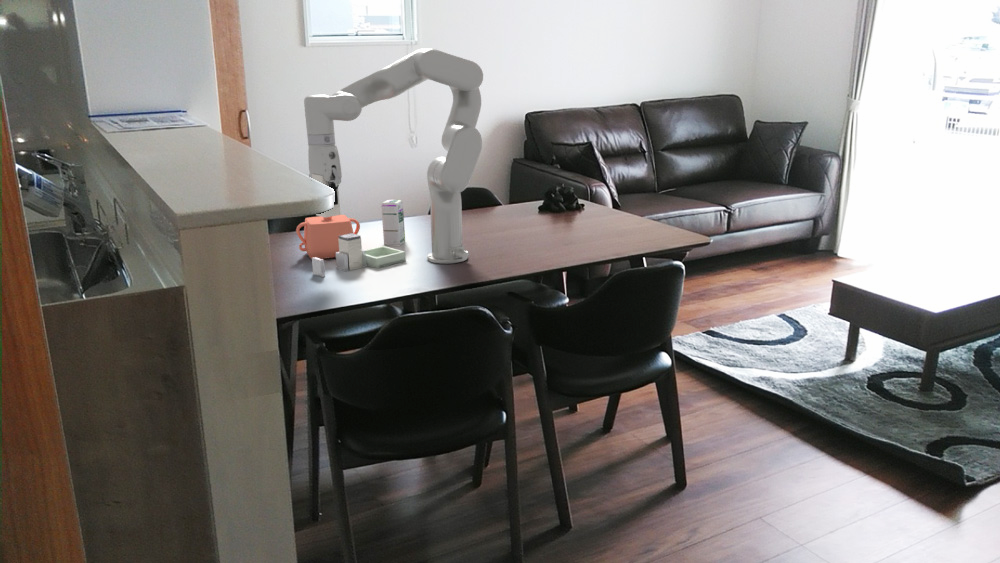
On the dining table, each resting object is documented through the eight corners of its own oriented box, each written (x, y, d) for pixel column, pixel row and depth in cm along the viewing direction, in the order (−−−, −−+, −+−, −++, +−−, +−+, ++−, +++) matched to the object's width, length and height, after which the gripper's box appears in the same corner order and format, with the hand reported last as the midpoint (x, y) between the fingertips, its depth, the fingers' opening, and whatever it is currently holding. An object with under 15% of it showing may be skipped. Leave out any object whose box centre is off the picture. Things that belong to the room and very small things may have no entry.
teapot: (353, 243, 269) (351, 202, 265) (365, 256, 251) (363, 214, 247) (293, 249, 262) (289, 207, 258) (301, 263, 245) (297, 219, 241)
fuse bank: (366, 266, 241) (364, 234, 238) (321, 277, 230) (319, 244, 227) (357, 263, 244) (355, 232, 241) (312, 274, 233) (310, 241, 230)
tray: (405, 261, 246) (405, 251, 245) (377, 268, 238) (376, 258, 238) (384, 254, 253) (383, 245, 252) (355, 261, 246) (355, 252, 245)
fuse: (340, 214, 230) (336, 171, 226) (325, 217, 226) (321, 174, 223) (330, 212, 233) (326, 170, 230) (316, 215, 230) (311, 172, 226)
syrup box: (400, 245, 264) (398, 202, 260) (383, 245, 265) (380, 202, 261) (405, 241, 270) (403, 199, 265) (388, 241, 271) (386, 199, 267)
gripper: (350, 140, 220) (355, 205, 226) (316, 136, 232) (321, 198, 237) (327, 143, 215) (333, 209, 221) (293, 139, 227) (300, 202, 232)
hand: (327, 203), depth 229 cm, fingers closed on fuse, 5 cm apart
